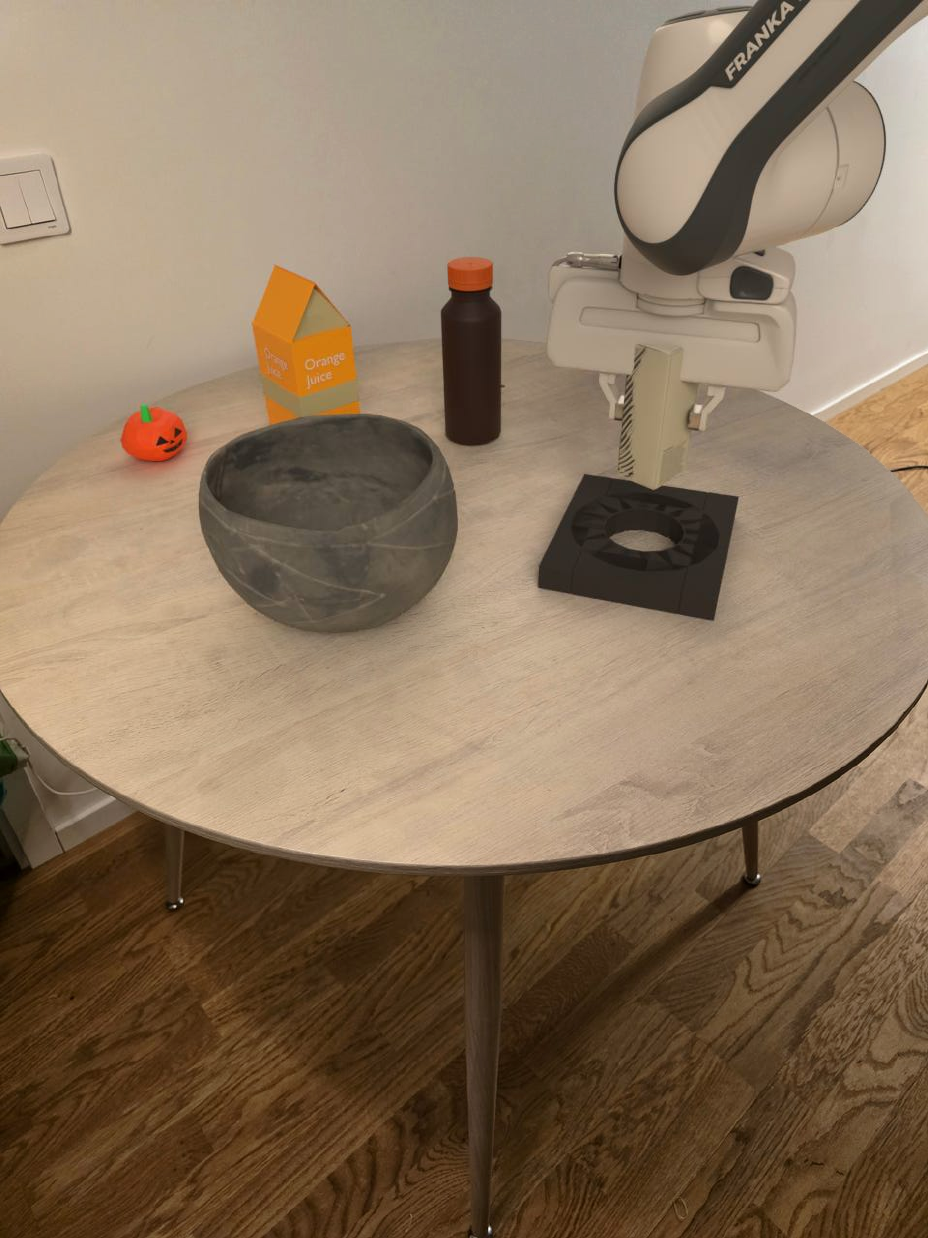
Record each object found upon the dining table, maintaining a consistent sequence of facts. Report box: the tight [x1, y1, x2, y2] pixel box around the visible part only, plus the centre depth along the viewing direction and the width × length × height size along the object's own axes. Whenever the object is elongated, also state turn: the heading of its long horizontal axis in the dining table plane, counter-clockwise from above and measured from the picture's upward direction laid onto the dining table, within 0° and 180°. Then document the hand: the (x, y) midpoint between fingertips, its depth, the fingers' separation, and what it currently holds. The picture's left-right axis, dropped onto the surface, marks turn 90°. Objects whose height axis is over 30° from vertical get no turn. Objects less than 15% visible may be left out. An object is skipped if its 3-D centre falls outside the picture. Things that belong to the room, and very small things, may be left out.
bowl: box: [198, 413, 459, 633], centre depth 74 cm, size 21×21×15 cm
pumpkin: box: [120, 403, 188, 462], centre depth 101 cm, size 7×8×6 cm
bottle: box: [440, 256, 502, 447], centre depth 99 cm, size 7×7×20 cm
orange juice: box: [251, 264, 361, 426], centre depth 98 cm, size 8×9×20 cm
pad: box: [537, 473, 740, 621], centre depth 84 cm, size 16×18×2 cm
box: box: [616, 343, 699, 490], centre depth 75 cm, size 5×4×13 cm
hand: (657, 423), depth 76 cm, fingers closed on box, 5 cm apart
